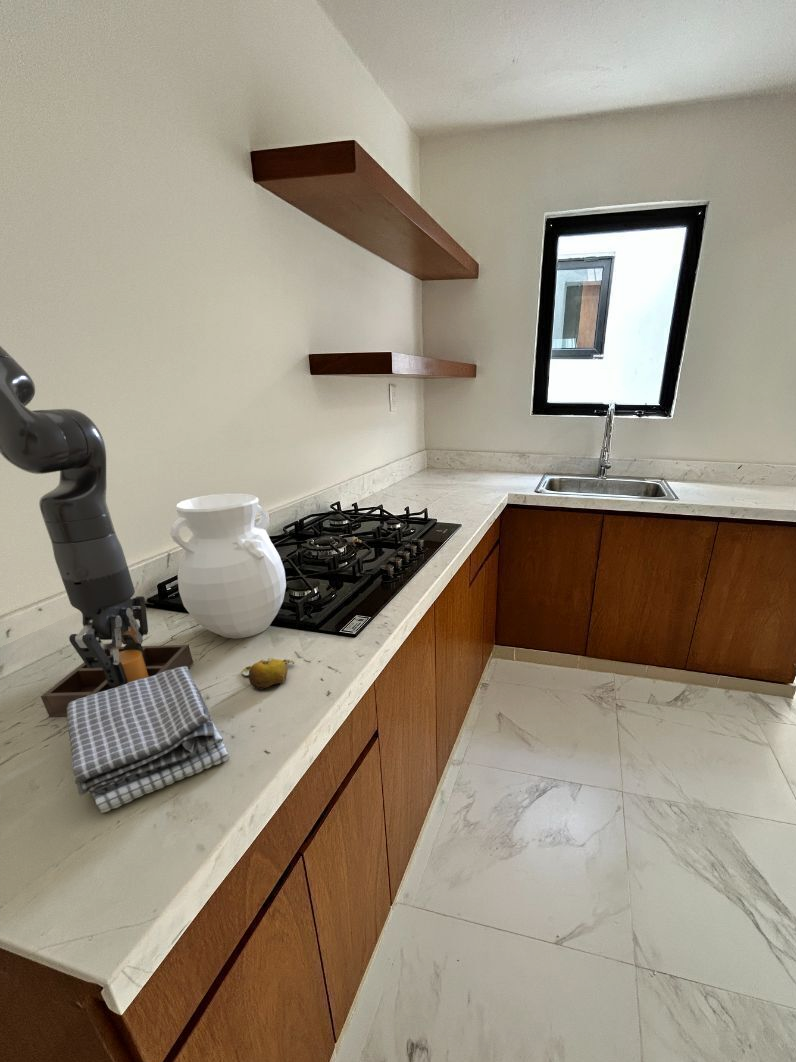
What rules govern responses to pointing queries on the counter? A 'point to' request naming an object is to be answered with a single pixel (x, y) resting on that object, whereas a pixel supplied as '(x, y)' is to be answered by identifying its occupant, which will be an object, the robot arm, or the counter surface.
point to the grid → (95, 681)
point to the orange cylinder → (133, 665)
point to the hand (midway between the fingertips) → (129, 675)
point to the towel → (141, 737)
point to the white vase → (228, 565)
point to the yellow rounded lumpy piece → (267, 673)
